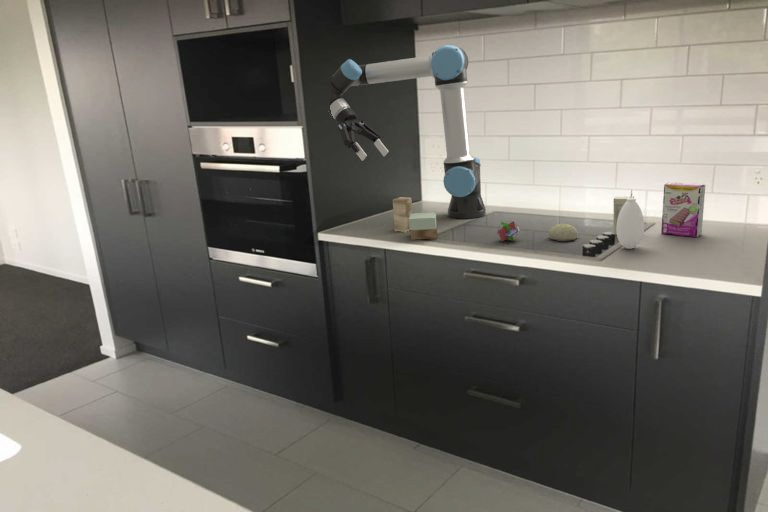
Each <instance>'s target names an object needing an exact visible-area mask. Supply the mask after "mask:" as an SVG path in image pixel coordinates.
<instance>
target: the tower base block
mask: <svg viewBox="0 0 768 512" xmlns="http://www.w3.org/2000/svg"><path fill="white" fill-rule="evenodd" d="M415 239H431V240H438V224H437V222H436V229H425V230H411V231H410V241H416V240H415Z"/></svg>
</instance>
